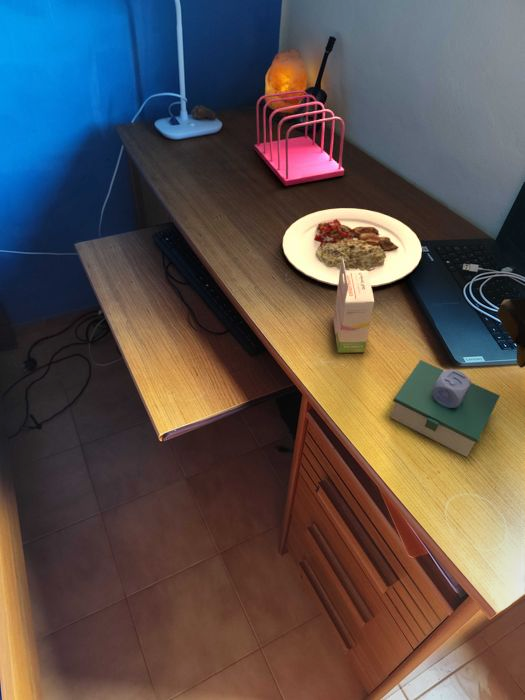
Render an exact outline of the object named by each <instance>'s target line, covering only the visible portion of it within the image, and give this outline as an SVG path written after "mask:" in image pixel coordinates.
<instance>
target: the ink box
mask: <svg viewBox="0 0 525 700" xmlns="http://www.w3.org/2000/svg"><path fill="white" fill-rule="evenodd" d="M374 305H375V297H374V292H373V287H371V283H370V279H369V275H368V272H367V271H346V270H345V265H344V260H343V257H342V261H341V267H340V274H339V282H338V286H337V291H336V299H335V306H334V314H333V328H334V334H335V343H336V351H337V353H338V354H343V353H345V354H347V353H350V354H351V353H365V351H366V345H367V340H368V335H369V329H370V323H371V319H372V315H373V310H374Z"/></svg>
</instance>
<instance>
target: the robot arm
mask: <svg viewBox="0 0 525 700" xmlns="http://www.w3.org/2000/svg"><path fill="white" fill-rule="evenodd" d="M496 316H497V319H498V320H499V321H500V323H501V325H502V326H503V329H504V330H505V331H506V333H507V335H508V336H509V338H510V339H511V341H512V342H513V344H516V364H517V365H518V367H519V369H520V368H521V369H522V368H524V367H525V298H509V299H504V300H503V301H502V302H501V304H500V305H499V307H498V309H497V312H496Z"/></svg>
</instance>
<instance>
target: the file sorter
mask: <svg viewBox="0 0 525 700" xmlns="http://www.w3.org/2000/svg"><path fill="white" fill-rule="evenodd" d="M293 94H302V95H295V96H289V97H287V96H286V95H293ZM279 96H286V97H282V98H281V97H280V98H274V99H270V100H268V101H267V102H266V103H265V104H264V106H263V109H262V132H263V142H261V143H260V120H259V118H260V117H259V116H260V115H259V113H260V112H259V108H260V107H259V105H260V103H261V101H263V100H264V99H266V98H273V97H279ZM305 98H306V103H299V104H296V105H290V106H285V107H281V108H277V109H274V110H272V112H271V114H270V116H269V118H268V134H269V135H268V136H269V142H268V141H267V139H266V135H267V133H266V109H267V107H268V106H269V105H270V104H272V103H276V102H283V101H291V100H297V99H305ZM310 98H311V99H313V101H310ZM313 105H314V111H310V112H309V108H310V106H313ZM318 105H319V106H320V107H321V110H320V109H319V110H318ZM302 107H306V110H305V112H304V113H298V114H292V115H288V116H284V117H282V119H281V120H280V121H279V123H278V125H277V140H274V141H273V133H272V119H273V117H274V115H275V114H276V113H279V112H284V111H288V110H293V109H298V108H302ZM255 112H256V114H255V115H256V116H255V117H256V144H255V143H254V151H255V152H256V153H257V154H258V156H259V157H260V158H261V159H262V160H263V162H264V163H265V164H266V166H268V168H269V169H270V170H271V171H272V172H273V173H274V175H275V176H276V177H277V178H278V180H279V181H280V182H281V183H282V184H283V185H284V187H289V186H293V185H299V184H305V183H310V182H315V181H319V180H326V179H330V178H335V177H341V176H344V174H345V169H344V168H343V167H342V160H343V159H342V158H343V149H344V136H345V122H344V120H343V119H342V118H341V117H339V116H335V113H334V112H333V111H332V110H330V109H325V105H324V104H323V103H322V102H320V101H317V98H316V97H315V96H314V95H312V94H308V93H307V92H306V91H305V90H303V89H301V90H300V89H299V90H292V91H285V92H278V93H271V94H265V95H262V96H260V98H259V99H258V100H257V102H256V106H255ZM326 113H329V114H330V116H331V117H328V118H327V117H326V116H325V115H326ZM317 114H321V119H317ZM311 115H313V120H312V121H309V116H311ZM300 117H305V122H302V123H297V124H294V125H292V126H290V127H289V129H288V130H287V131H286V133H285V139H281V126H282V125H283V123H284V122H285V121H287V120H289V119H296V118H300ZM325 117H326V118H325ZM335 120H336V121H339V122H340V123H341V131H340V144H339V156H338V163H337V161H335V160H334V159H333V147H334V136H335V135H334V134H335ZM325 122H331V133H330V145H329V147H330V148H329V154H328V153H327V152H326V151H325V150H324V138H325ZM320 123H321V138H320V139H321V140H320V146H319V145H318V144H317V143H316V129H317V127H316V126H317V124H320ZM309 125H313V130H312V138H311V137H309V135H308V126H309ZM299 127H304V128H305V129H304V136H298V137H297V136H296V137H292V138H289V135H290V133H291V131H293V130H294V129H296V128H299ZM255 147H256V148H257V149H258V151H259V152H260V153H261V155H262V156H263V157H264V158H263V157H262V156H261V155H260V153H259V152H258V151H257V150H256V149H255ZM265 160H266V161H267V162H266V161H265Z"/></svg>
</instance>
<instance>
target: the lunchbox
mask: <svg viewBox="0 0 525 700" xmlns="http://www.w3.org/2000/svg"><path fill="white" fill-rule="evenodd" d="M443 371H444V369H442V368H439V367H437V366H435V365H433V364H431V363H428V362H426V361H424V360H422V359H419V361H417V364H416V365H415V367H414V368H413V369H412V371H411V372H410V374H409V375H408V377H407V378H406V379H405V382H403V384H402V386H401V387H400V389H399V390H398V392H397V393H396V394H395V396H394V397H393V402H394V404H393V407H392V410H391V414H390V419H392V420H395V421H396V422H399V423H400V424H403V425H404V426H406V427H408V428H410V429H412V430H413V431H416V432H418V433H420V434H422V435H423V436H425V437H427V438H429V439H431V440H433V441H435V442H436V443H439V444H441V445H442V446H445V447H447V448H449V449H450V450H452V451H454V452H455V453H458V454H459V455H462V456H463V457H466V458H467V457H468V456H469V454H470V452H471V451H472V449H473V447H474V445H475V443H476V444H477V443H478V442H479V440H480V437H481V435H482V434H483V432H484V430H485V427H486V425H487V423H488V421H489V419H490V417H491V415H492V413H493V411H494V409H495V407H496V405H497V403H498V401H499V399H500V396H501V395H500V394H497V393H496V392H493V391H491V390H489V389H486V388H485V387H482V386H480V385H478V384H475V383H473V382H471V387H470V389H469V391H468V393H467V394H466V396H465V398H464V399H463V401H462V403H461V404H460V406H459V407H456V408H449V407H445V406H442V405H441V404H439V403H438V402H437V401H436V400H435V399H434V397H433V395H432V390H433V387H434V385H435V383H436V381H437V380H438V378H439V376H440V375H441V374H442V372H443Z"/></svg>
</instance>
